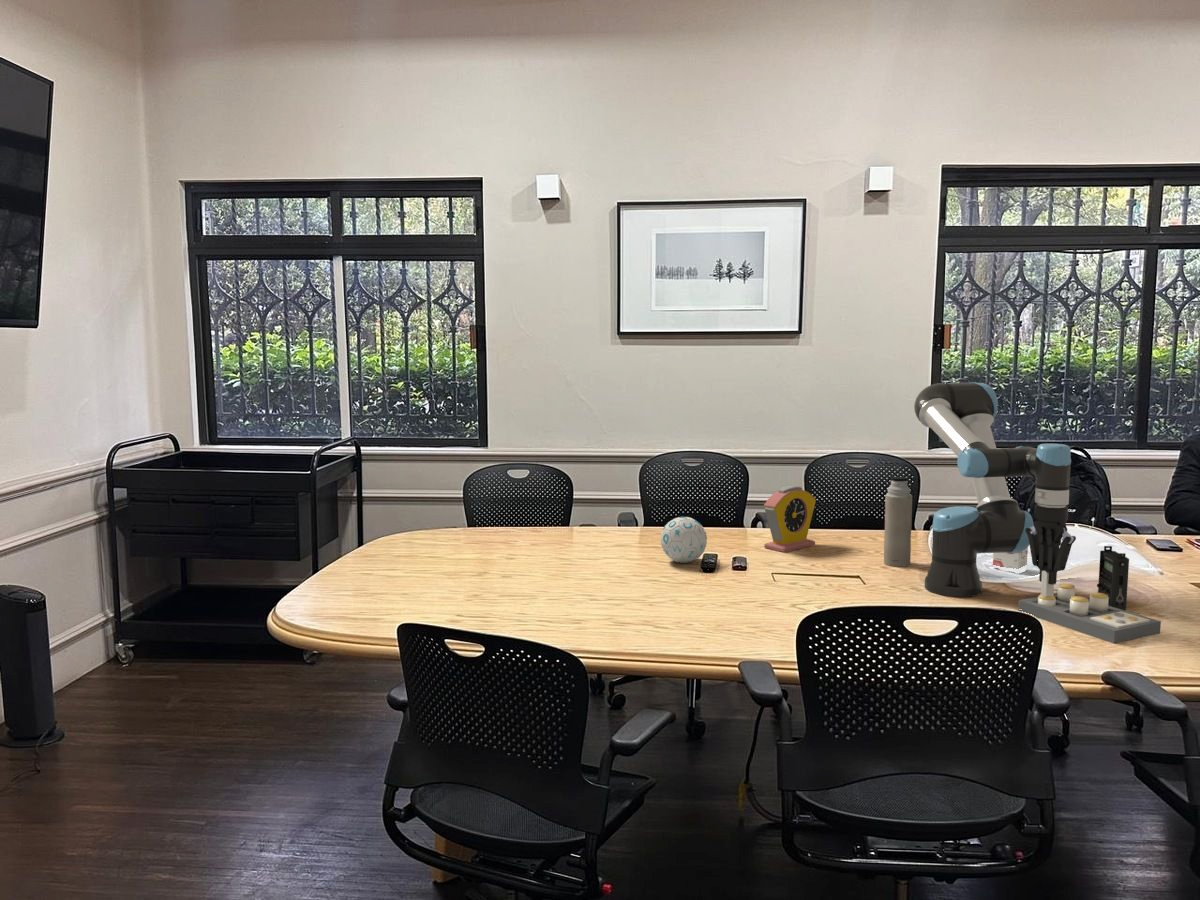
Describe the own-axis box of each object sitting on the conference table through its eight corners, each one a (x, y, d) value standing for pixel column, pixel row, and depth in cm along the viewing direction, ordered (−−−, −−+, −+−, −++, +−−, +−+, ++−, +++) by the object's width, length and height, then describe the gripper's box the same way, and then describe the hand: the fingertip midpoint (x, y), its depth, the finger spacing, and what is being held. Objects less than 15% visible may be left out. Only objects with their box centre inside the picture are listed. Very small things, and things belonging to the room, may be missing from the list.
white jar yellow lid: (1065, 613, 203) (1066, 597, 203) (1076, 611, 205) (1077, 595, 204) (1080, 618, 200) (1081, 601, 199) (1091, 615, 201) (1092, 599, 201)
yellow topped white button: (1085, 609, 206) (1086, 593, 205) (1096, 607, 207) (1097, 591, 207) (1100, 614, 202) (1101, 597, 202) (1111, 612, 204) (1112, 595, 203)
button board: (1018, 611, 213) (1019, 597, 213) (1062, 603, 219) (1062, 589, 219) (1113, 643, 189) (1114, 627, 189) (1160, 633, 195) (1161, 618, 195)
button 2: (1053, 599, 214) (1054, 584, 214) (1064, 597, 216) (1065, 582, 215) (1067, 604, 210) (1068, 588, 210) (1078, 602, 212) (1079, 586, 211)
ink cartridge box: (991, 568, 255) (993, 522, 253) (1001, 566, 257) (1002, 520, 256) (1018, 574, 247) (1020, 526, 246) (1027, 572, 250) (1029, 524, 248)
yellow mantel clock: (778, 554, 277) (779, 491, 274) (758, 549, 284) (758, 488, 282) (820, 544, 290) (821, 484, 287) (799, 539, 297) (800, 481, 295)
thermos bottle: (879, 563, 262) (881, 477, 259) (890, 559, 268) (892, 474, 265) (903, 568, 257) (905, 480, 253) (914, 563, 262) (917, 477, 259)
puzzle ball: (661, 556, 277) (661, 512, 276) (706, 556, 276) (706, 512, 274) (660, 567, 262) (660, 521, 261) (707, 568, 261) (707, 522, 259)
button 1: (1033, 610, 212) (1034, 595, 211) (1044, 608, 213) (1045, 593, 213) (1047, 615, 208) (1048, 599, 208) (1058, 613, 210) (1059, 597, 209)
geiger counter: (1091, 598, 223) (1094, 544, 221) (1110, 599, 222) (1113, 545, 220) (1108, 610, 213) (1111, 554, 211) (1127, 611, 212) (1131, 554, 210)
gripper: (1018, 502, 212) (1014, 590, 215) (1064, 510, 200) (1059, 604, 203) (1039, 499, 215) (1035, 587, 218) (1085, 508, 203) (1080, 600, 206)
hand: (1047, 595), depth 210 cm, fingers closed
